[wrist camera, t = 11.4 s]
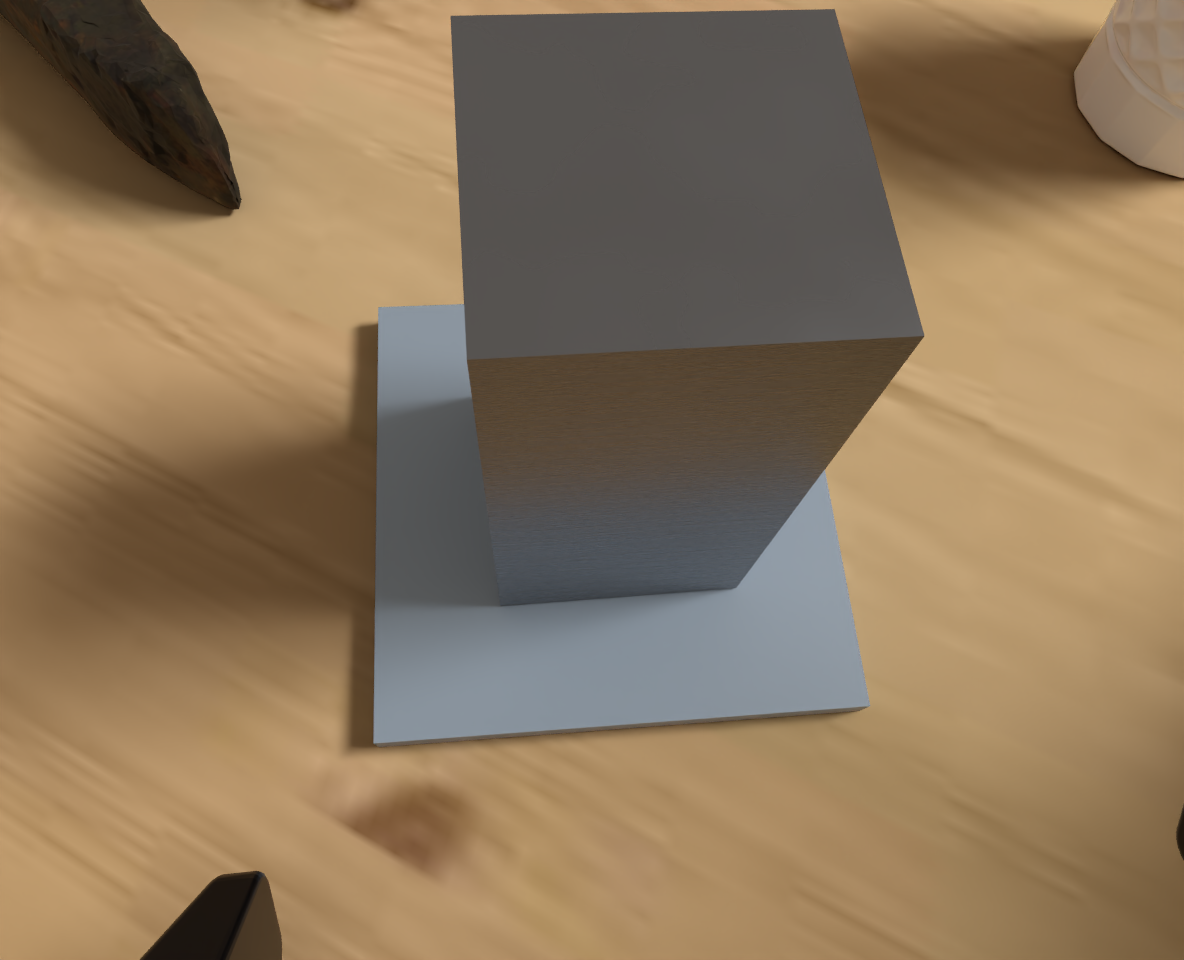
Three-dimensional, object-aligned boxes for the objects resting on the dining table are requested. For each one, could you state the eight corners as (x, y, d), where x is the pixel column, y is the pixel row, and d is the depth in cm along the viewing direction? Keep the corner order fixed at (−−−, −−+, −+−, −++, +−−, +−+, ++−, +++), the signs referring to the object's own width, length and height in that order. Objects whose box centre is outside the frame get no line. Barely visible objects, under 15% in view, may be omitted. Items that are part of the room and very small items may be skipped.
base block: (850, 714, 23) (917, 685, 19) (383, 750, 22) (348, 727, 18) (778, 320, 28) (819, 227, 24) (386, 335, 27) (358, 241, 23)
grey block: (736, 588, 23) (924, 335, 12) (500, 606, 22) (467, 360, 11) (703, 382, 25) (834, 9, 14) (488, 393, 25) (450, 15, 14)
